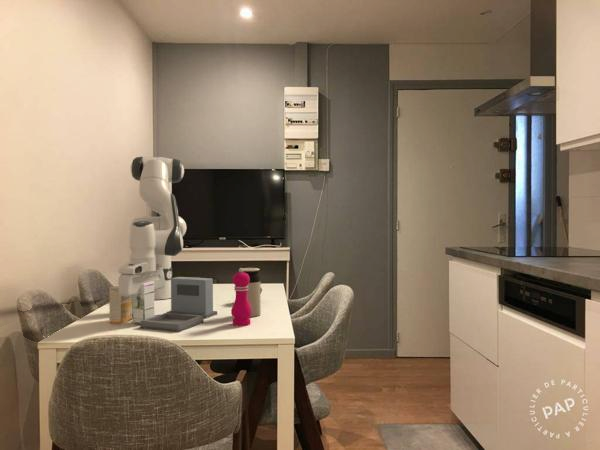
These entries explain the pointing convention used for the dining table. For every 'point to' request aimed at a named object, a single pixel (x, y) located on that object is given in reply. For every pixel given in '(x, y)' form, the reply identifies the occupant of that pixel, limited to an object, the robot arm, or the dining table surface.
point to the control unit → (192, 296)
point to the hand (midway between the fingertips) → (143, 304)
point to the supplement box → (119, 306)
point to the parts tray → (172, 322)
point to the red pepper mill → (241, 299)
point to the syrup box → (144, 303)
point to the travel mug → (254, 291)
